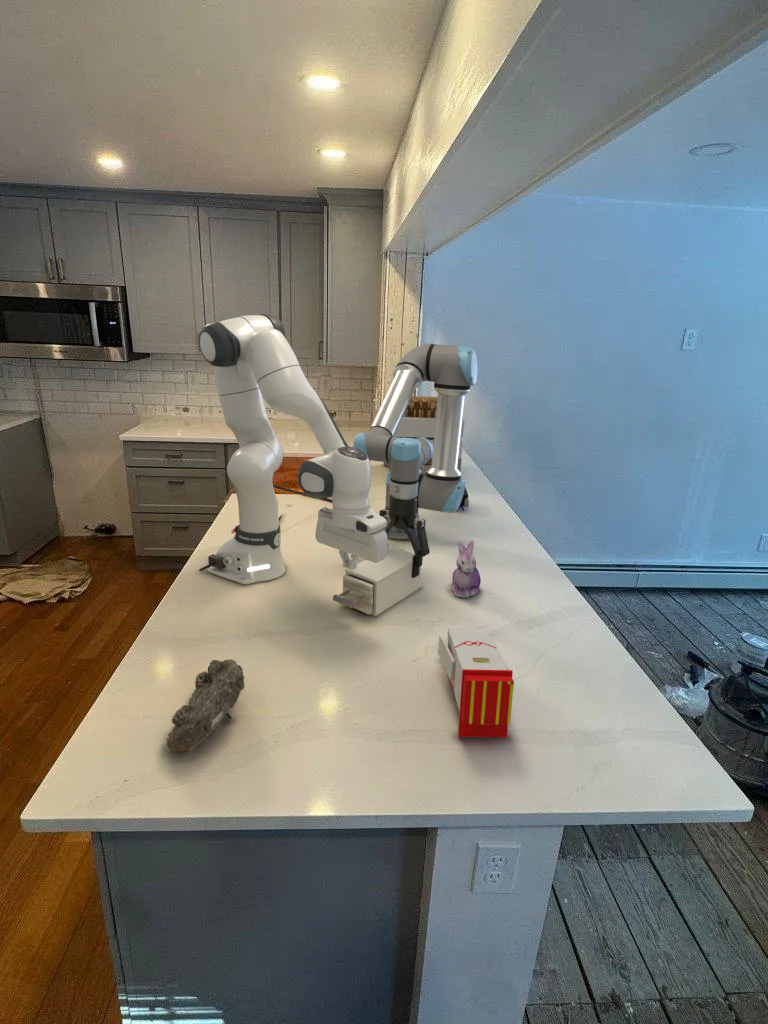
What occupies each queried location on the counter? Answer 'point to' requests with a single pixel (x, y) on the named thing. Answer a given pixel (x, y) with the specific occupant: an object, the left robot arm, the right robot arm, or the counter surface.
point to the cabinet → (389, 578)
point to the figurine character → (464, 500)
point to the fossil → (206, 705)
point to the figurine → (466, 573)
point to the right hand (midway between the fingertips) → (399, 570)
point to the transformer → (422, 423)
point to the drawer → (357, 594)
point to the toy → (478, 682)
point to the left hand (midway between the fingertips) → (349, 567)
